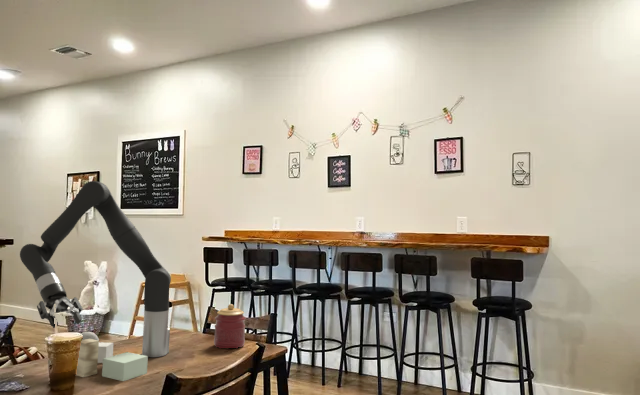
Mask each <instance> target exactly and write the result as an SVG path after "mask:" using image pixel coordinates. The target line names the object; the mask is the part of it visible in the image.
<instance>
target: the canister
mask: <svg viewBox="0 0 640 395" xmlns="http://www.w3.org/2000/svg"><path fill="white" fill-rule="evenodd" d="M244 313H245V312H244V311H243V310H241V308H237V307H235V306H234V304H232V303H229V304H228V305H227V307H226V308H221V309H220V310H219V311H217V312H216V314H217V315H216V316H214V320H215V324H214V340H213V344H214V345H215V346H216V347H215V346H214V347H215V348H217V347H219V348H218V349H221V348H236V349H239V348H238V347H241V348H242V346H243V347H244V346H245V343H246V339H245V335H246V332H245V331H246V324H245V320H246V319H247V318H246V316H244Z"/></svg>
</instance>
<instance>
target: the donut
mask: <svg viewBox="0 0 640 395" xmlns="http://www.w3.org/2000/svg"><path fill="white" fill-rule="evenodd" d="M79 334H82V335H83V339H82V340H85V339H94V340H98V341H99V342H100V340H99V337H98V335H97V334H96V333H94V332H93V331H84V332H81V333H79Z"/></svg>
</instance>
